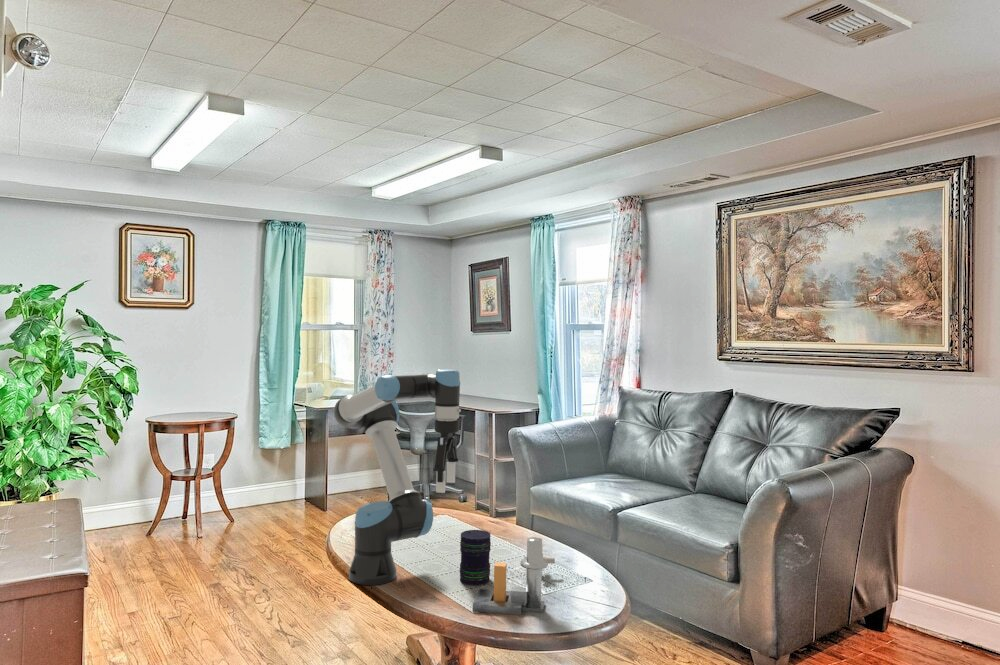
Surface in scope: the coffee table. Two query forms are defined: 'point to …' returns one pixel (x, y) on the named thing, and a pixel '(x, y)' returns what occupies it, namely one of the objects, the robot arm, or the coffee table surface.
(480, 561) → the storage jar
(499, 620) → the coffee table surface
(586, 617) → the coffee table surface
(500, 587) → the tan rectangular block
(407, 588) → the coffee table surface
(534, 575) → the rosette node
